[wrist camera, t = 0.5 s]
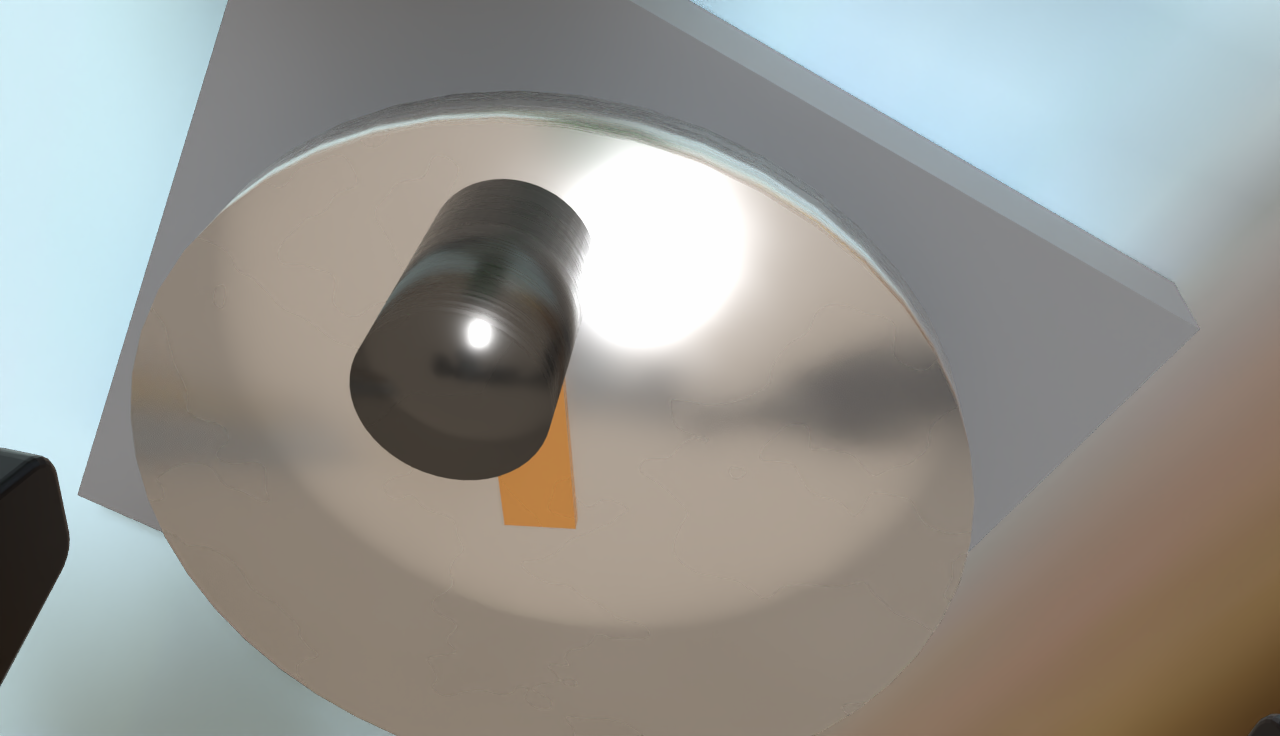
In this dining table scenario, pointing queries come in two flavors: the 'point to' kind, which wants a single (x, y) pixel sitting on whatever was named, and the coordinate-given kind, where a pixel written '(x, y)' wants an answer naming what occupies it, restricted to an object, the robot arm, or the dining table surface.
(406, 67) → the wheel base
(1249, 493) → the dining table surface
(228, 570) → the handwheel
